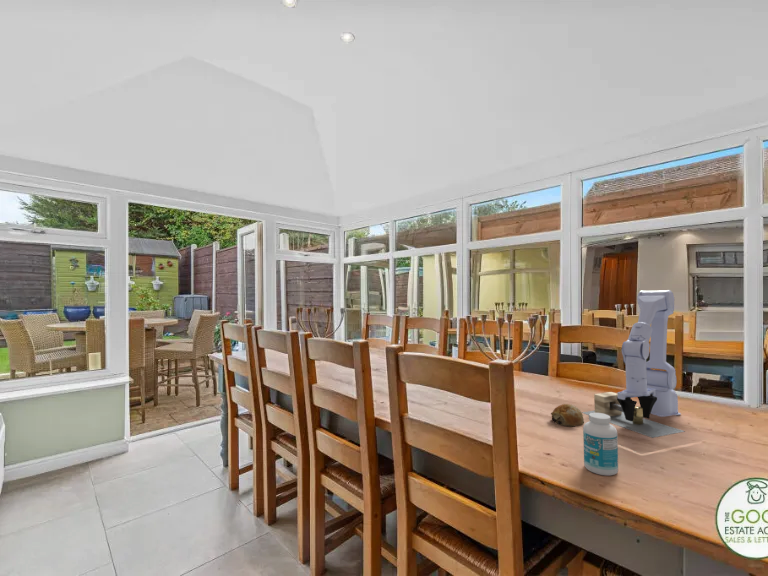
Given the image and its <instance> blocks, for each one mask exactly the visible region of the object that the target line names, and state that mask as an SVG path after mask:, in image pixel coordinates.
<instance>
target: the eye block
mask: <svg viewBox="0 0 768 576" xmlns="http://www.w3.org/2000/svg"><path fill="white" fill-rule="evenodd" d="M593 396H594V397H593V398H594V403H593V404H594V410H595V413H603V414H607V415H609V416H615V415H622V412H621V411H618V410H615V409H612V408H610V402H612V403H616V404H619V405H620V403H619V402H618V400H617V397H618V395H617V392H613V391H608V392H601V393H600V392H598V393H594V395H593Z"/></svg>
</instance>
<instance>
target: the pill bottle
mask: <svg viewBox="0 0 768 576" xmlns="http://www.w3.org/2000/svg"><path fill="white" fill-rule="evenodd" d="M588 419H589V421H587V422H584V424H583V425H582V426H583V427H582V431H583V432H582V433H583V435H582V436H583V438H582V439H583V466H584V467H585V469H587V471H589V472H591V473H593V474H597V475H599V476H615V475H617V474H618V472H619V448H618V443H619V442H618V440H619V439H618V430H617V428H616V427H615V425H614V424H612V423H610V422H611V419H610V416H609V415H607V414H603V413H590V414H589V415H588Z"/></svg>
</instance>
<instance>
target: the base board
mask: <svg viewBox="0 0 768 576" xmlns="http://www.w3.org/2000/svg"><path fill="white" fill-rule="evenodd" d="M581 412H582V411H581ZM590 413H595V409H594V410H589V411H583V412H582V414H584V415H587V416H589V414H590ZM610 419H611V422H610V423H609V424H611V425H614V426H618V427H621V428H624V429H627V430H629V431H632V432H635V433H637V434H641V435H643V436H645V437H649V438H651V439H654V438H658V437H663V436H664V437H665V436H669V435H674V434H678V433H679V434H680V433H683V432H684V433H685V432H686V431H685V430H683V429H679V428H676V427H673V426H670V425H666V424H663V423H660V422H657V421H653V420H650V419H647V418H644V417H643V424H635V423H633V422H632V421H628V420H626V418H625V415H624V412H622V415H615V416H610Z"/></svg>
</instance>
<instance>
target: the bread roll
mask: <svg viewBox="0 0 768 576" xmlns="http://www.w3.org/2000/svg"><path fill="white" fill-rule="evenodd" d="M550 415H551V421H552V422H553V423H554V424H556V425H559V426H562V427H569V428H573V427H575V428H576V426H584V424H585V419H584V415H583V413H582V411H581V409H579V408H578V407H577V406H575V405H573V404H570V403H569V404H568V403H563V404H560V405H558V406H556V407H555V408H554V410H553V411H552V412H551V413H550Z"/></svg>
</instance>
